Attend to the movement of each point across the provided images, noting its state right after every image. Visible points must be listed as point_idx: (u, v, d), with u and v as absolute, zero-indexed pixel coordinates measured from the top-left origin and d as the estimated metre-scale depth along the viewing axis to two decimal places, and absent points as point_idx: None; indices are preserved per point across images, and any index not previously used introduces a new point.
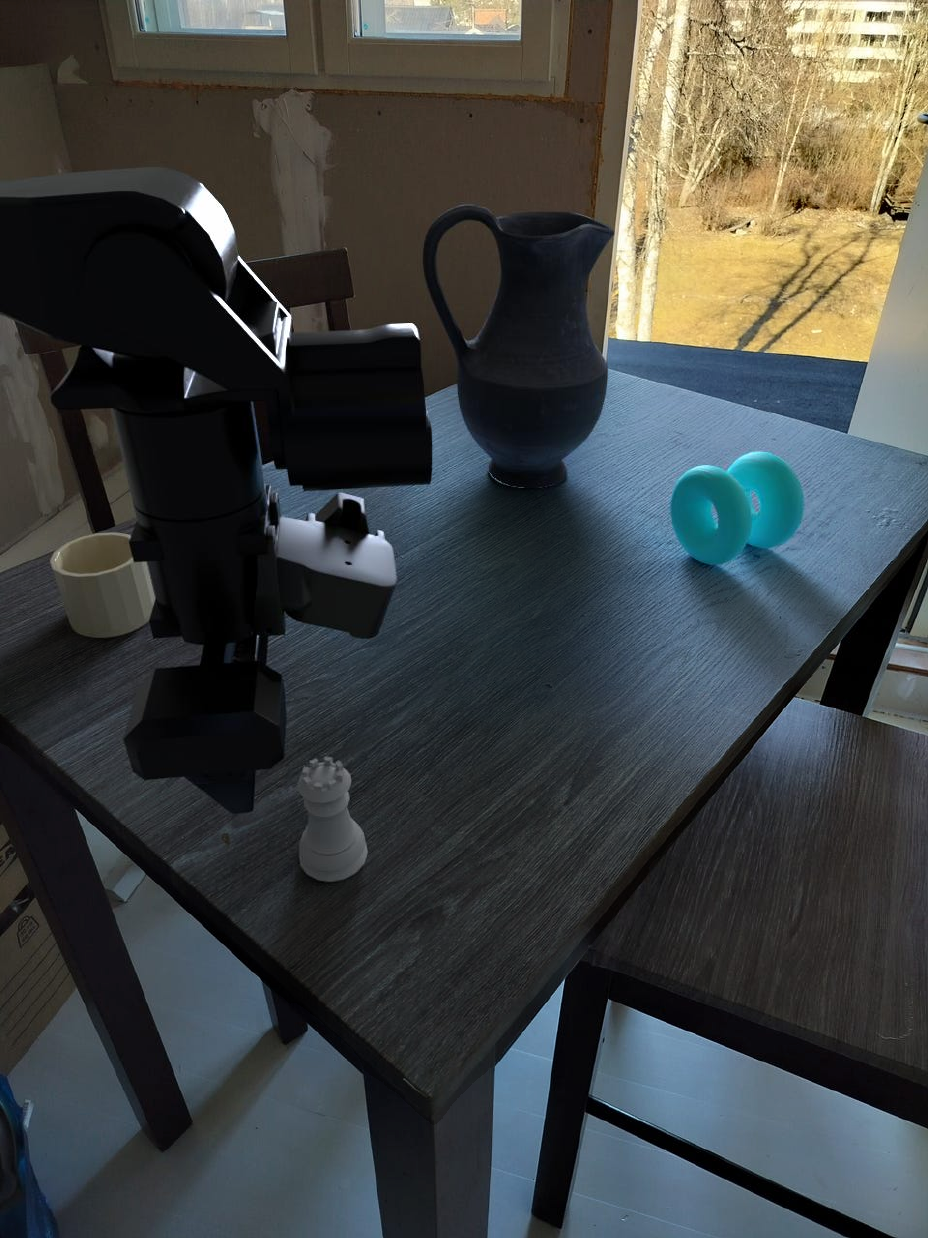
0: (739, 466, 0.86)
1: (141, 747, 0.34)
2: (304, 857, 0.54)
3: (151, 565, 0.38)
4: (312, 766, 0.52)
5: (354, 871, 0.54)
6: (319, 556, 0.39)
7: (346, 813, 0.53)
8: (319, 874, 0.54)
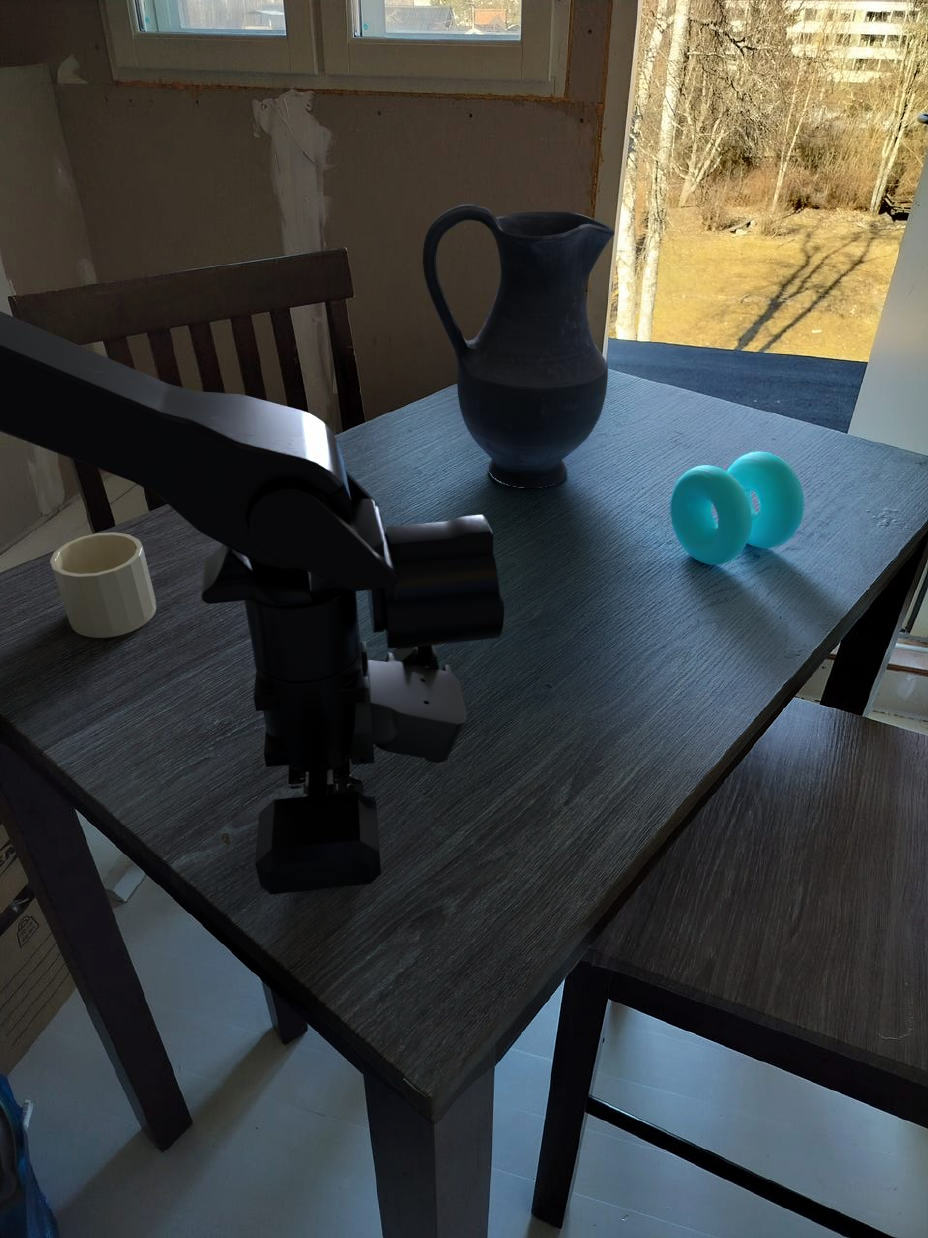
0: (739, 466, 0.86)
1: (270, 871, 0.42)
2: None
3: (267, 710, 0.46)
4: None
5: None
6: (403, 698, 0.48)
7: None
8: None
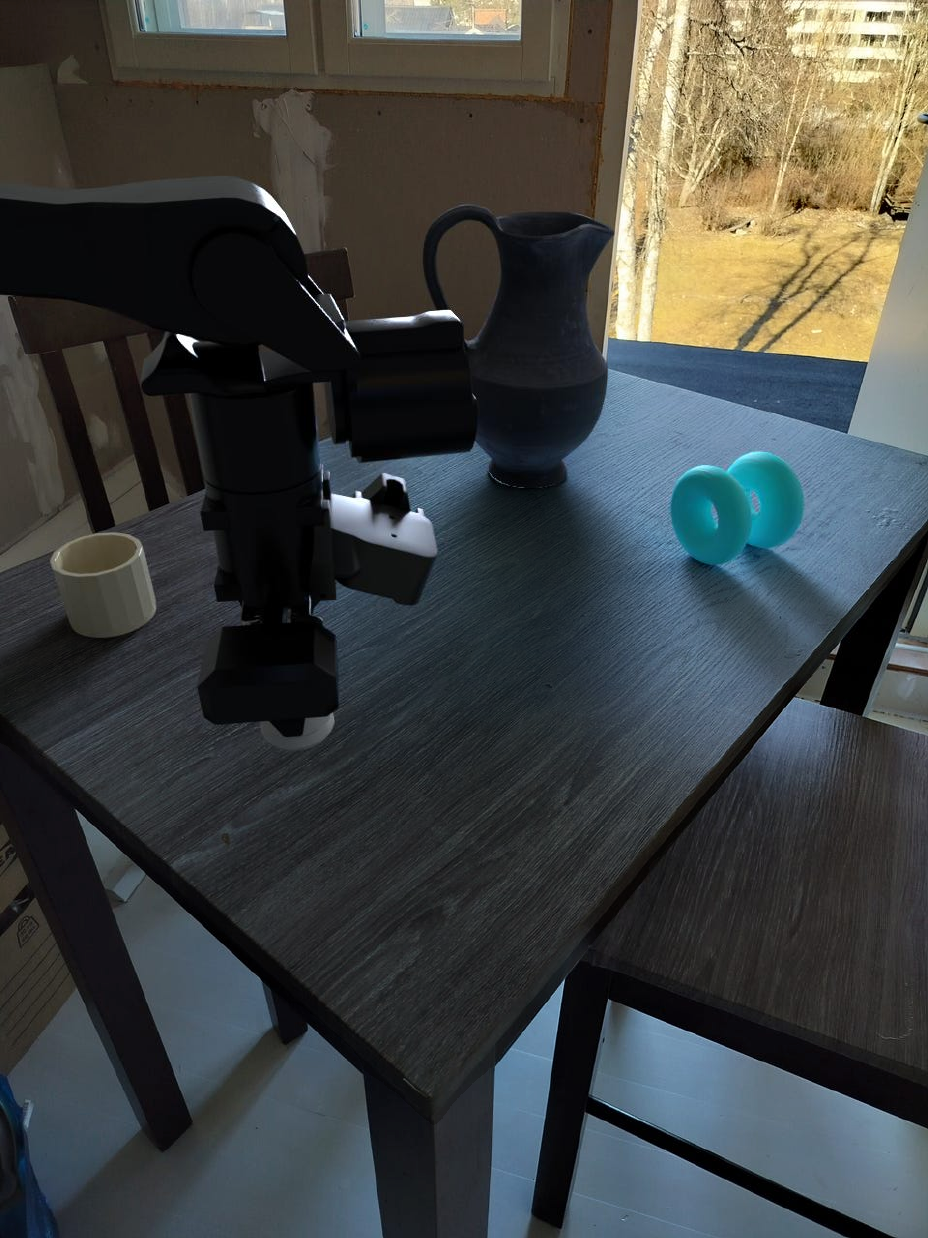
0: (739, 466, 0.86)
1: (213, 694, 0.38)
2: (264, 722, 0.50)
3: (217, 534, 0.42)
4: None
5: (319, 739, 0.50)
6: (368, 529, 0.43)
7: None
8: (281, 741, 0.50)
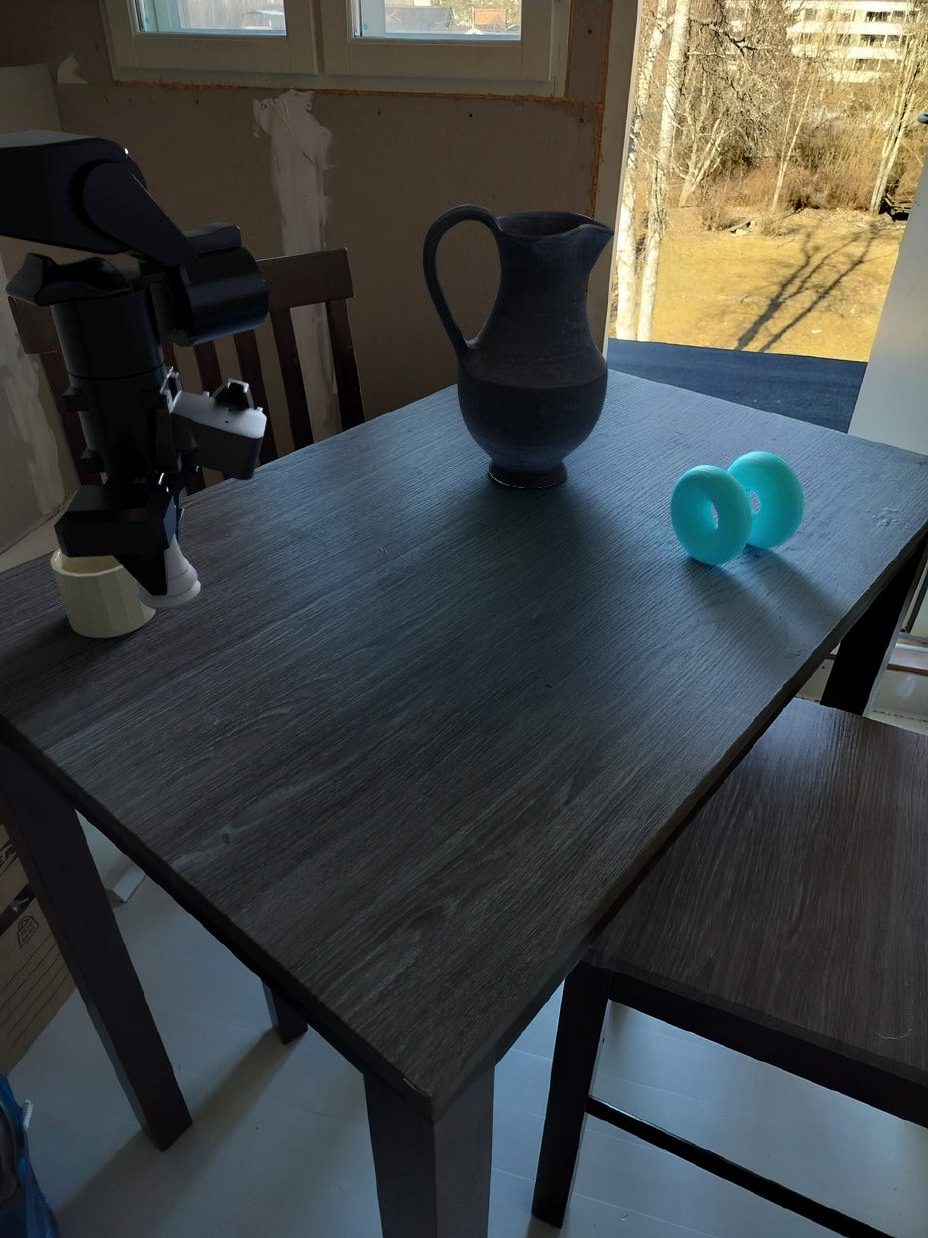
0: (739, 466, 0.86)
1: (65, 530, 0.49)
2: (138, 586, 0.61)
3: (81, 417, 0.53)
4: None
5: (184, 601, 0.61)
6: (204, 415, 0.54)
7: (174, 543, 0.60)
8: (152, 601, 0.61)
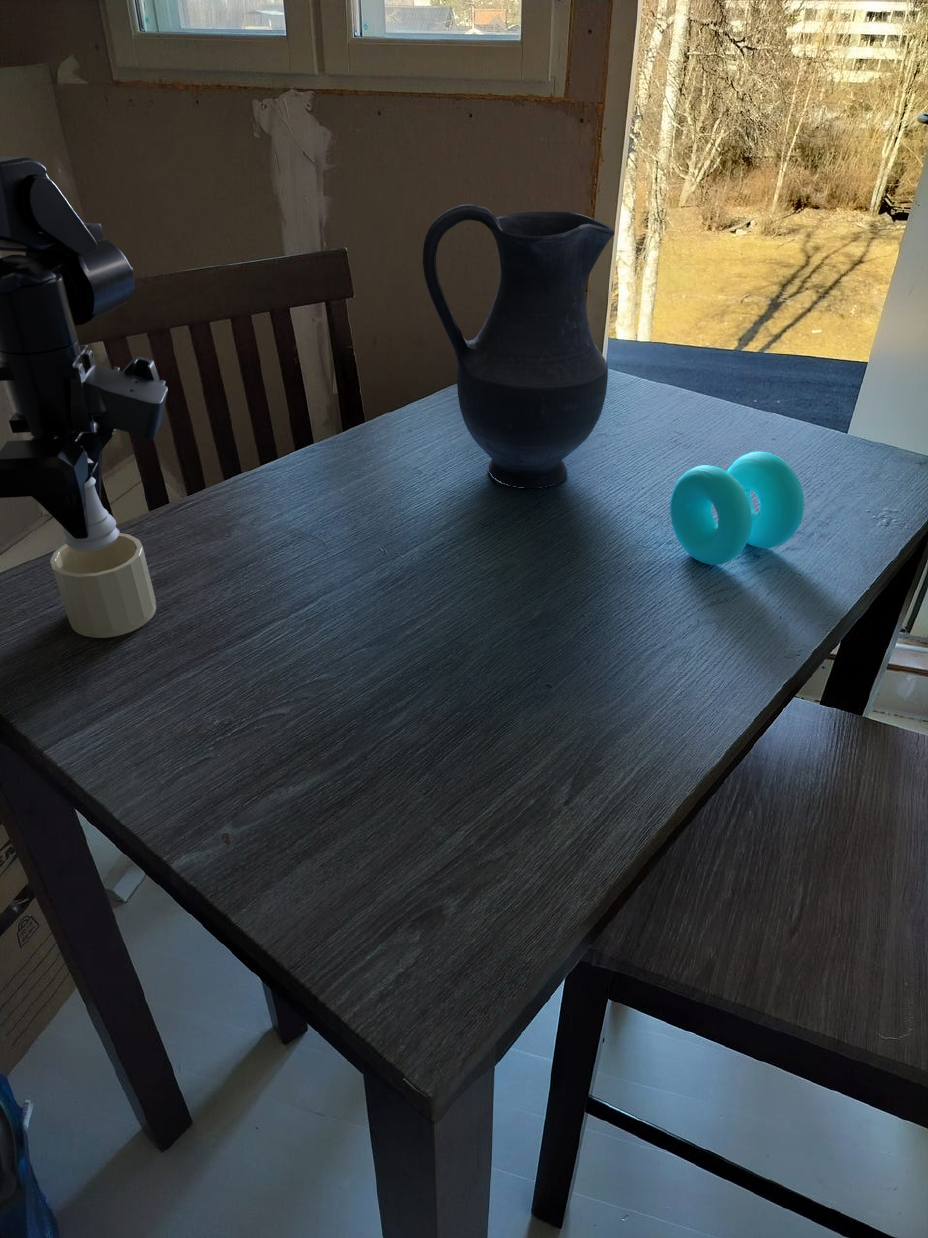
0: (739, 466, 0.86)
1: None
2: (65, 531, 0.72)
3: (9, 386, 0.64)
4: None
5: (104, 544, 0.73)
6: (112, 385, 0.66)
7: (93, 495, 0.71)
8: (76, 544, 0.72)
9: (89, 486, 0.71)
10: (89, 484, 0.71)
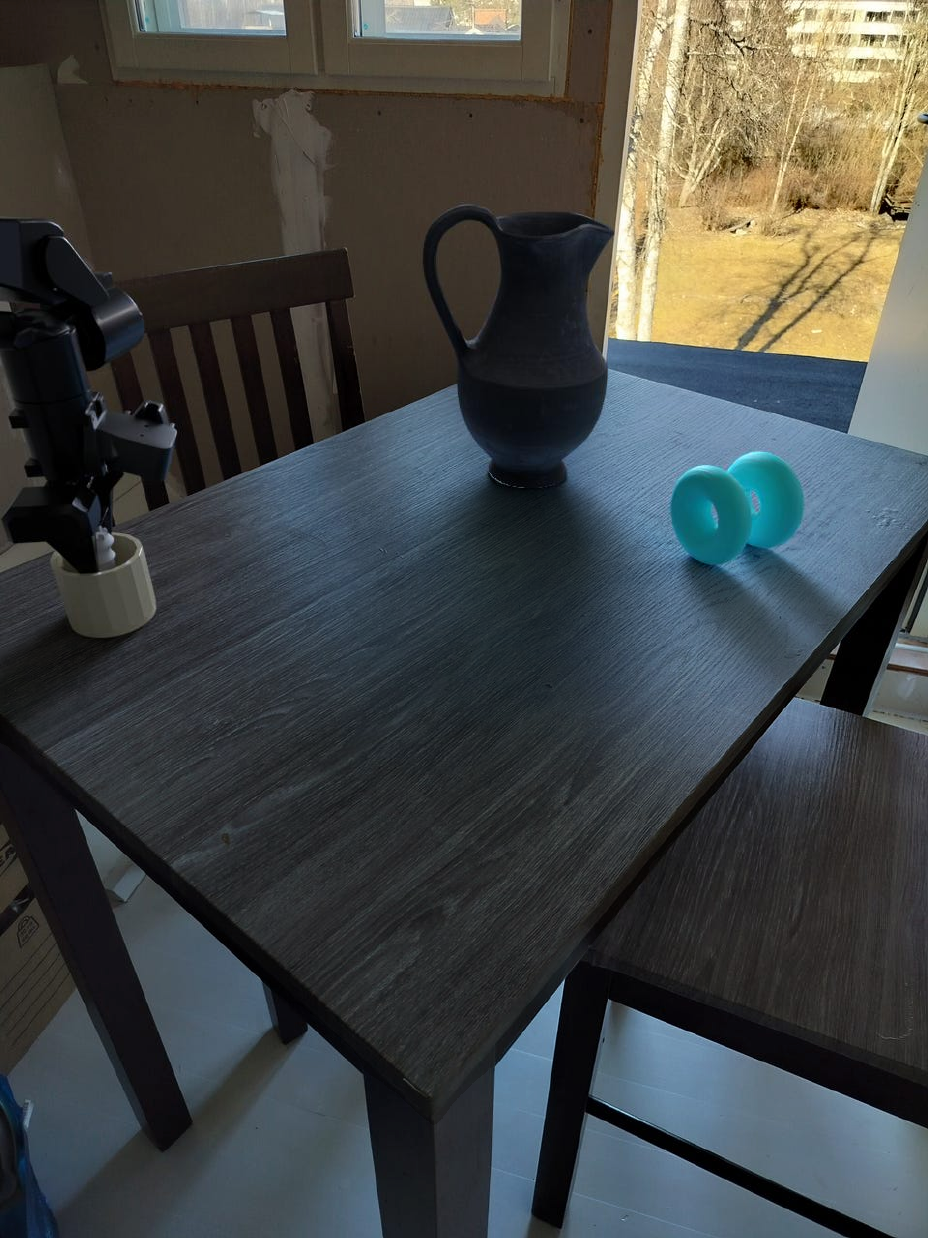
0: (739, 466, 0.86)
1: (9, 521, 0.62)
2: None
3: (24, 432, 0.67)
4: None
5: None
6: (123, 430, 0.68)
7: (113, 567, 0.76)
8: None
9: (109, 560, 0.75)
10: (109, 558, 0.75)
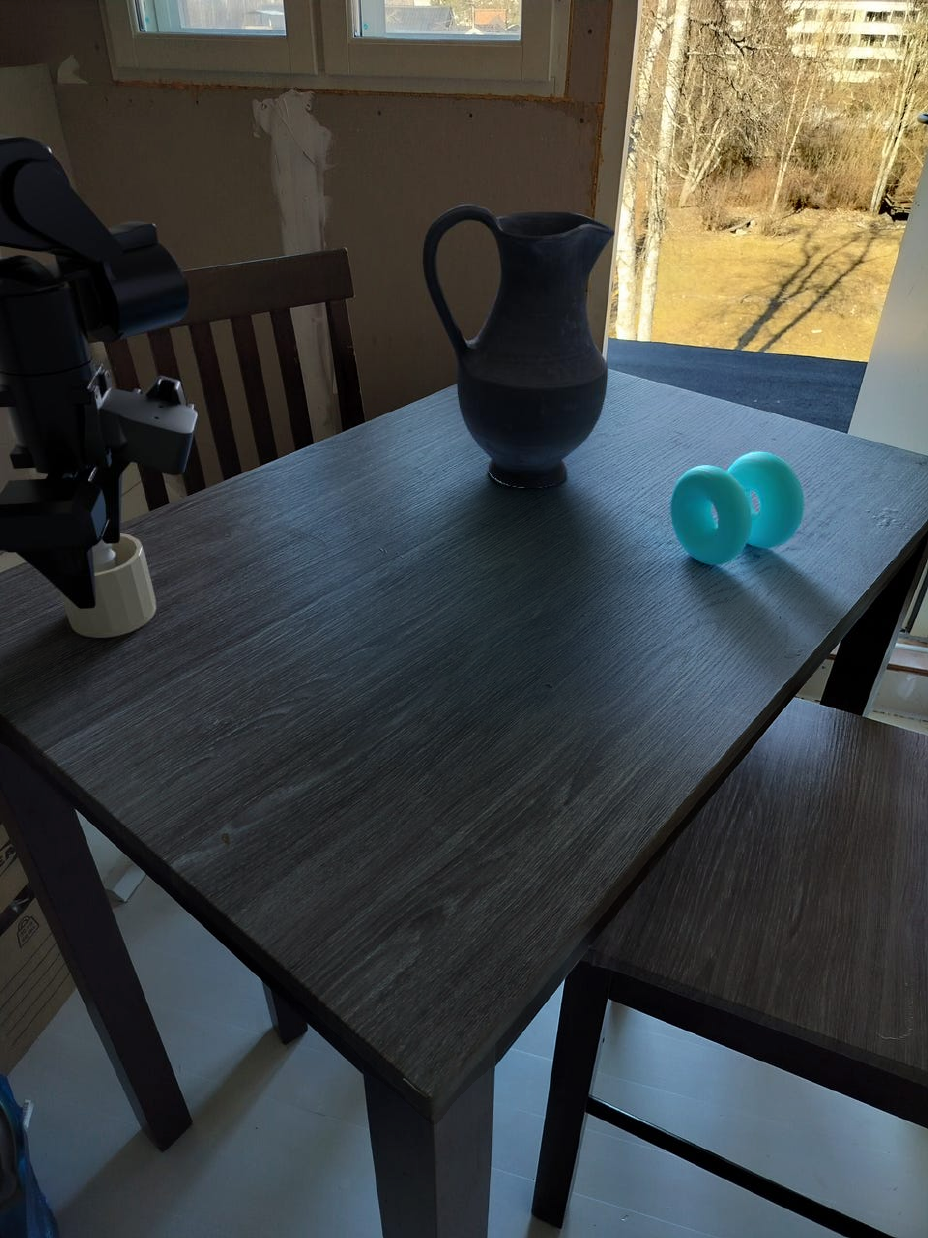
0: (739, 466, 0.86)
1: None
2: None
3: (9, 413, 0.54)
4: None
5: None
6: (134, 411, 0.55)
7: (113, 567, 0.76)
8: None
9: (109, 560, 0.75)
10: (109, 558, 0.75)
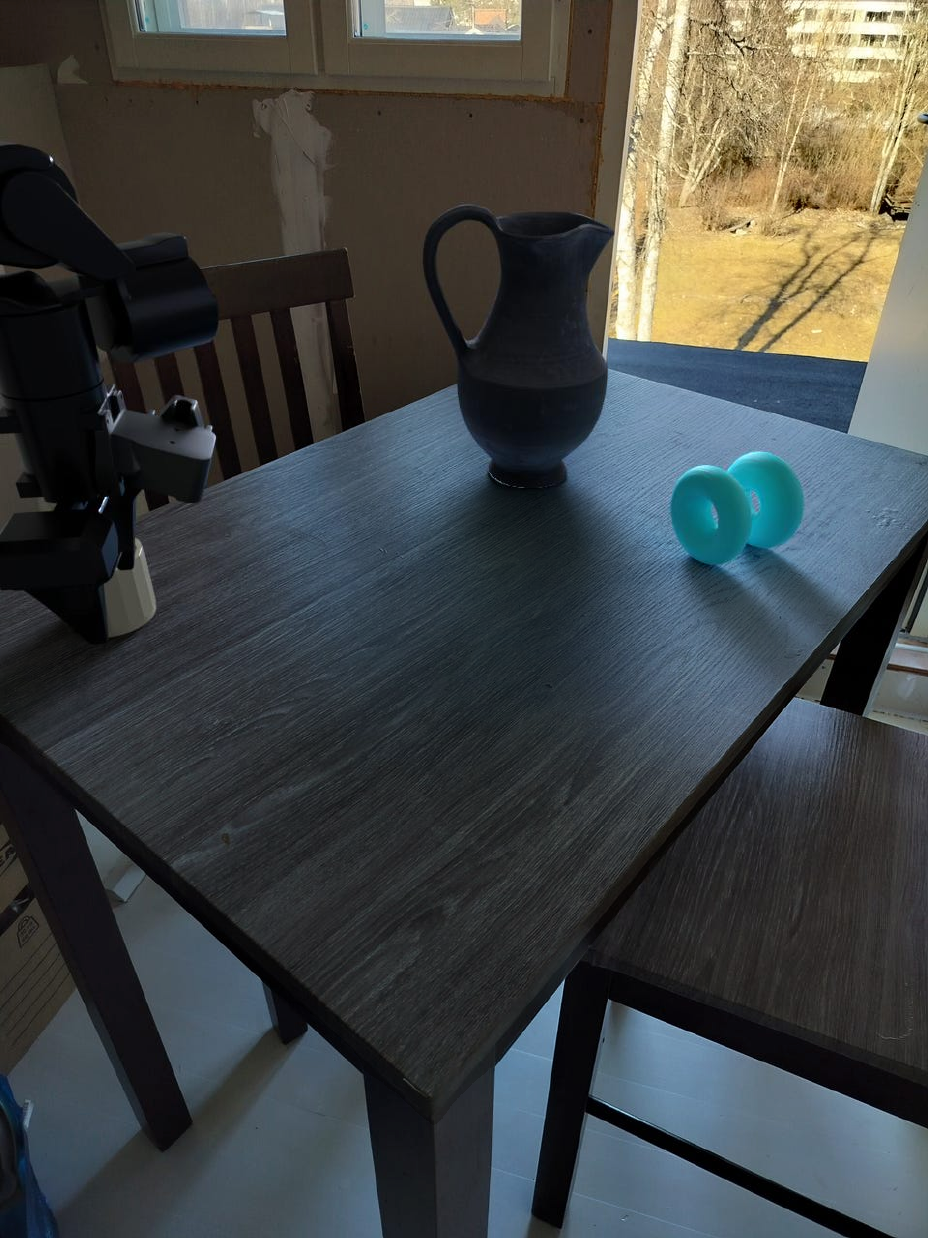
0: (739, 466, 0.86)
1: None
2: None
3: (15, 439, 0.50)
4: None
5: None
6: (148, 436, 0.51)
7: None
8: None
9: None
10: None
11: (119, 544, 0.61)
